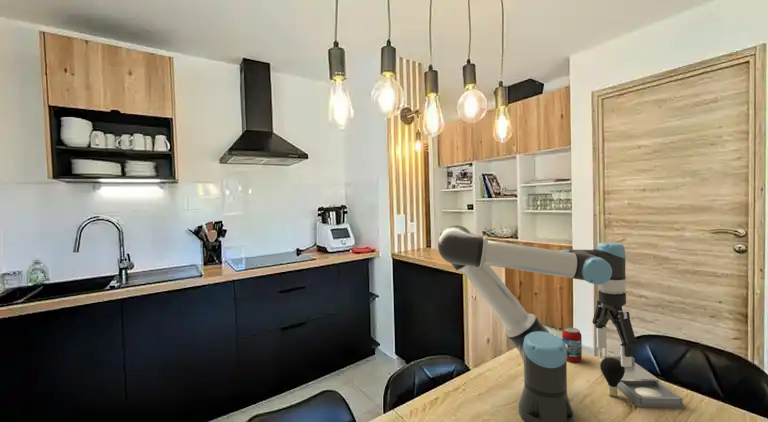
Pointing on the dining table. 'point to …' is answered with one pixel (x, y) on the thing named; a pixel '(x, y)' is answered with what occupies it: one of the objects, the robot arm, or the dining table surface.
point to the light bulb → (612, 373)
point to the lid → (636, 372)
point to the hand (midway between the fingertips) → (613, 356)
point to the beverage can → (572, 344)
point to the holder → (650, 394)
